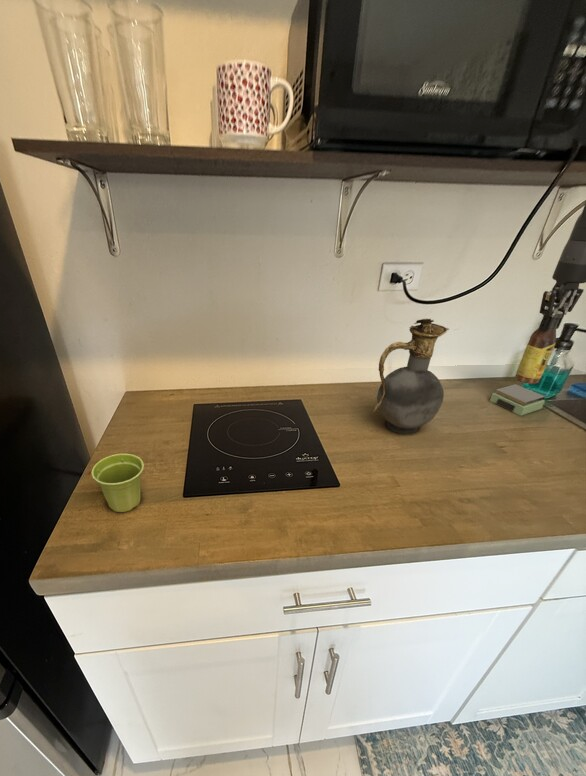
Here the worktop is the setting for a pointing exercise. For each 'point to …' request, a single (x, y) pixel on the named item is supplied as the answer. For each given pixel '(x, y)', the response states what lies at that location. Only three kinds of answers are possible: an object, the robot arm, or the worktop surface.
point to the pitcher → (411, 382)
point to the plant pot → (120, 480)
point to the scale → (516, 404)
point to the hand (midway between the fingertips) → (548, 328)
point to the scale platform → (520, 394)
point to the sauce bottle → (538, 353)
